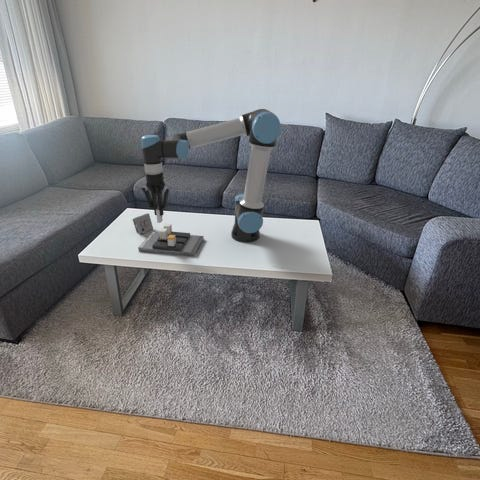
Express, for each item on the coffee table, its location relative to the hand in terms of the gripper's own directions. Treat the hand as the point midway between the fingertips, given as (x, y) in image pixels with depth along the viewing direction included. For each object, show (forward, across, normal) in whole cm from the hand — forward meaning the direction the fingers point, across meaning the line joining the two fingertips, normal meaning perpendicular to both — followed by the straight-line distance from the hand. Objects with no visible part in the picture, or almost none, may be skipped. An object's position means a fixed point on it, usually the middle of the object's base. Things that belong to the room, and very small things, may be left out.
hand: (160, 221), depth 155 cm
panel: (+16, -3, -6) cm, 17 cm away
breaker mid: (+12, +1, -6) cm, 13 cm away
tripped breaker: (+12, -5, 0) cm, 13 cm away
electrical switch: (+16, +18, -19) cm, 31 cm away
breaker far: (+12, +1, -12) cm, 17 cm away
